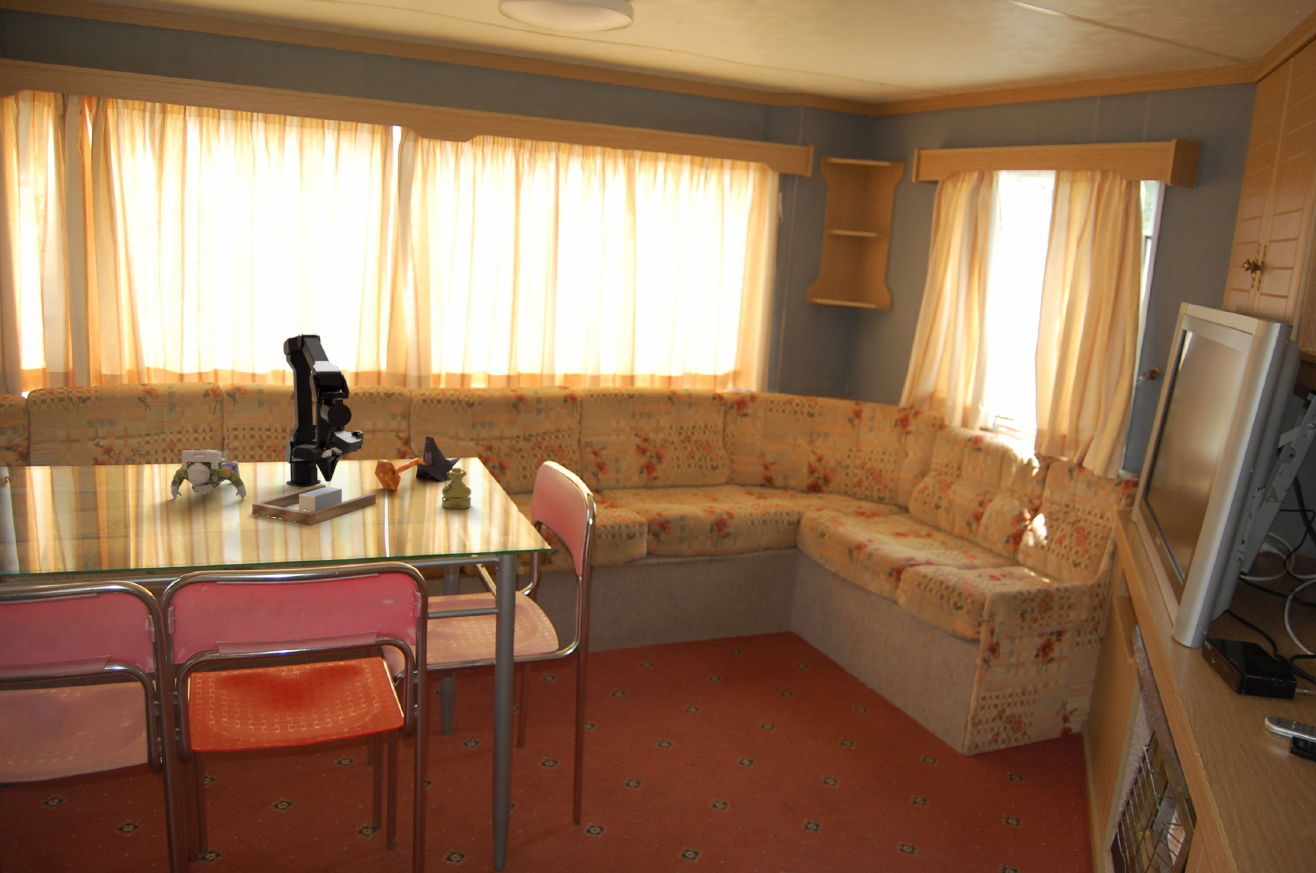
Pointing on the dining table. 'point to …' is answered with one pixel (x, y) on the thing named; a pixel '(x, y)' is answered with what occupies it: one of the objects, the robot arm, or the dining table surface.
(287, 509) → the rail pen
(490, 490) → the dining table surface
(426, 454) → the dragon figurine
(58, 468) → the dining table surface
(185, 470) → the toy
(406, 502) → the dining table surface
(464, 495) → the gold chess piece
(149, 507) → the dining table surface
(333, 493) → the long block
